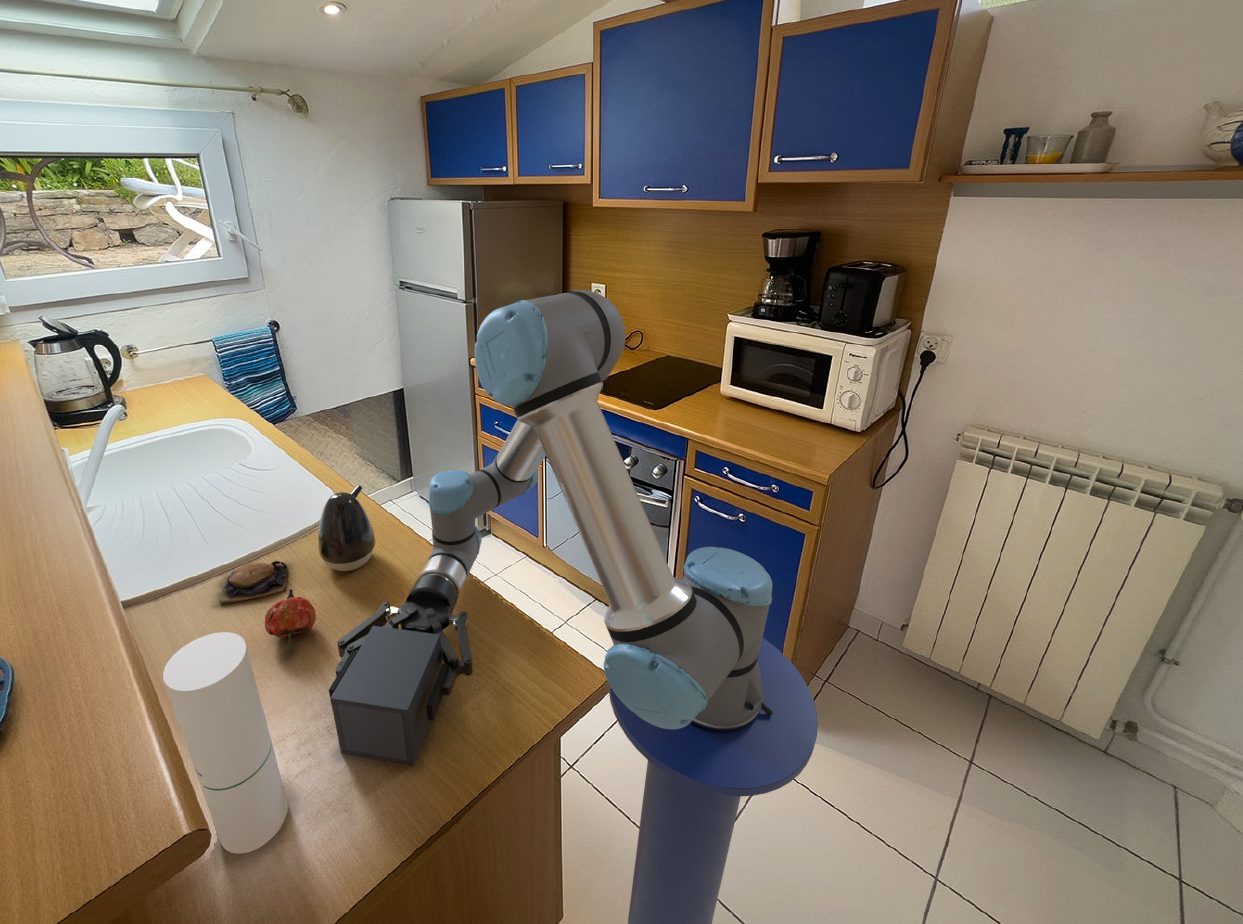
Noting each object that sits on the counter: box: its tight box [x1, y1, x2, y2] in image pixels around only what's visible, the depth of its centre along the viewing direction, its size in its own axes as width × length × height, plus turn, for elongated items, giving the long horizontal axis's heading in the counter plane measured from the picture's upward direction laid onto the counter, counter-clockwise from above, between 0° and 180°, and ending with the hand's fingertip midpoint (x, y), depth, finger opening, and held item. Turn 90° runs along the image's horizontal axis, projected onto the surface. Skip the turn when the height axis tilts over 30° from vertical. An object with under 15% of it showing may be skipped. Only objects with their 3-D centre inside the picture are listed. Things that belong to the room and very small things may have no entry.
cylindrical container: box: [162, 631, 289, 855], centre depth 60 cm, size 7×7×25 cm
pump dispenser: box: [317, 484, 376, 572], centre depth 104 cm, size 10×10×15 cm
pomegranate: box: [264, 588, 317, 656], centre depth 88 cm, size 7×7×10 cm
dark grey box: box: [329, 626, 444, 766], centre depth 75 cm, size 10×12×10 cm
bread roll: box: [218, 560, 288, 604], centre depth 100 cm, size 11×8×4 cm
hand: (380, 705), depth 71 cm, fingers open, 12 cm apart
